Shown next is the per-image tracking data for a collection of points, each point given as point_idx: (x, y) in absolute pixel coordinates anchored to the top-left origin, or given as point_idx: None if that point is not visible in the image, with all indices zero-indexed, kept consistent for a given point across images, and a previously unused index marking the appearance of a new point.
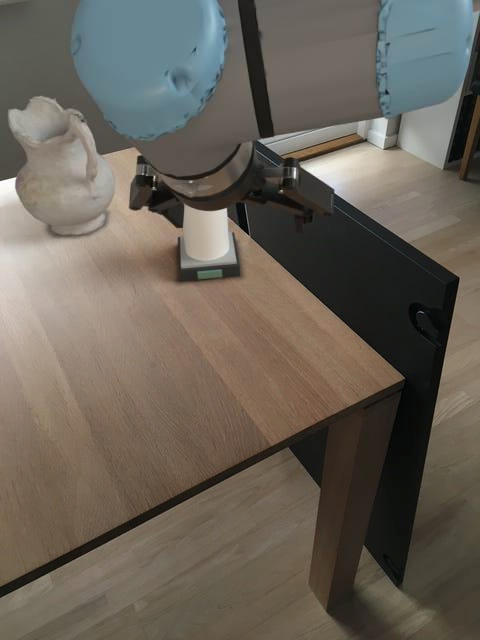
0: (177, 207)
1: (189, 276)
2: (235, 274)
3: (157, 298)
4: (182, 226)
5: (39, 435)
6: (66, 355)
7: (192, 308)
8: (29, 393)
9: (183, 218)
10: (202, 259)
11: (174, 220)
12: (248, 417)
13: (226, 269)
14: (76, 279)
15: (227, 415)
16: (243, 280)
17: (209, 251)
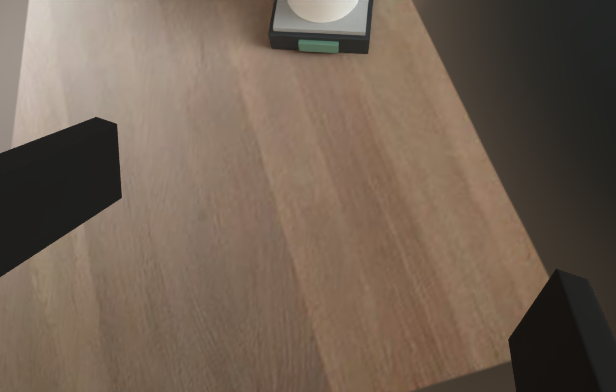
0: (35, 199)
1: (286, 44)
2: (360, 51)
3: (232, 79)
4: (115, 197)
5: (34, 309)
6: None
7: (279, 111)
8: None
9: (117, 170)
10: (309, 19)
11: (19, 263)
12: (317, 355)
13: (346, 42)
14: (123, 16)
15: (288, 342)
16: (371, 65)
17: (321, 9)
